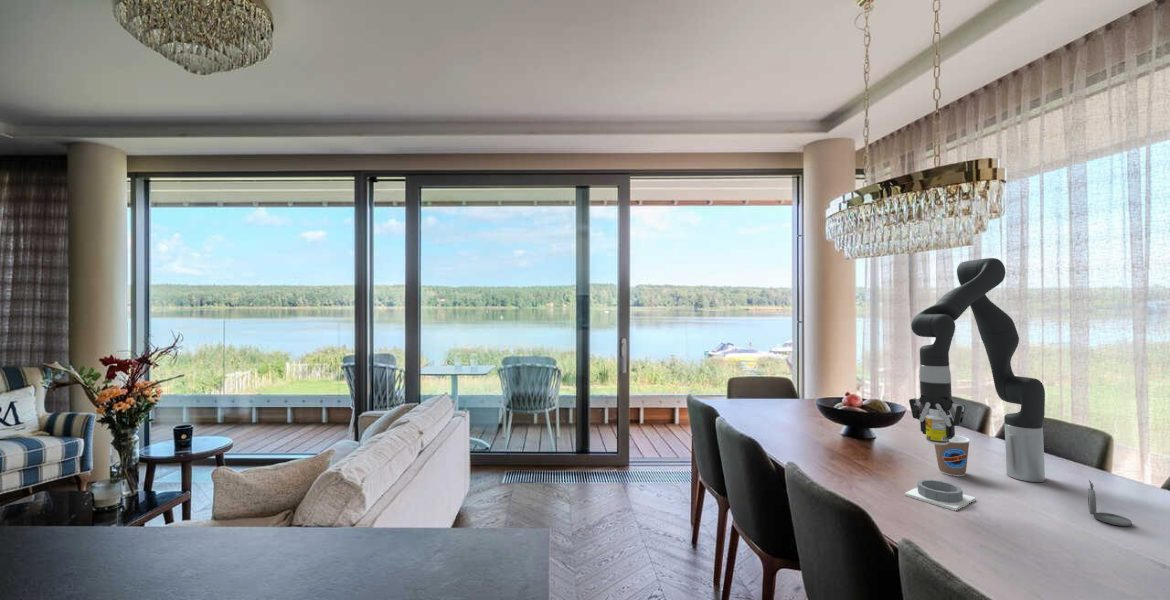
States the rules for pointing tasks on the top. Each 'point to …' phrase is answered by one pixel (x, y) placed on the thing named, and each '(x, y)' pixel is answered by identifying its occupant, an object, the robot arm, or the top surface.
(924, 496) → the ring holder
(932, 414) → the supplement bottle
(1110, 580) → the top surface
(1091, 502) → the pocket watch
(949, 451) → the coffee cup
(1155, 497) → the top surface
